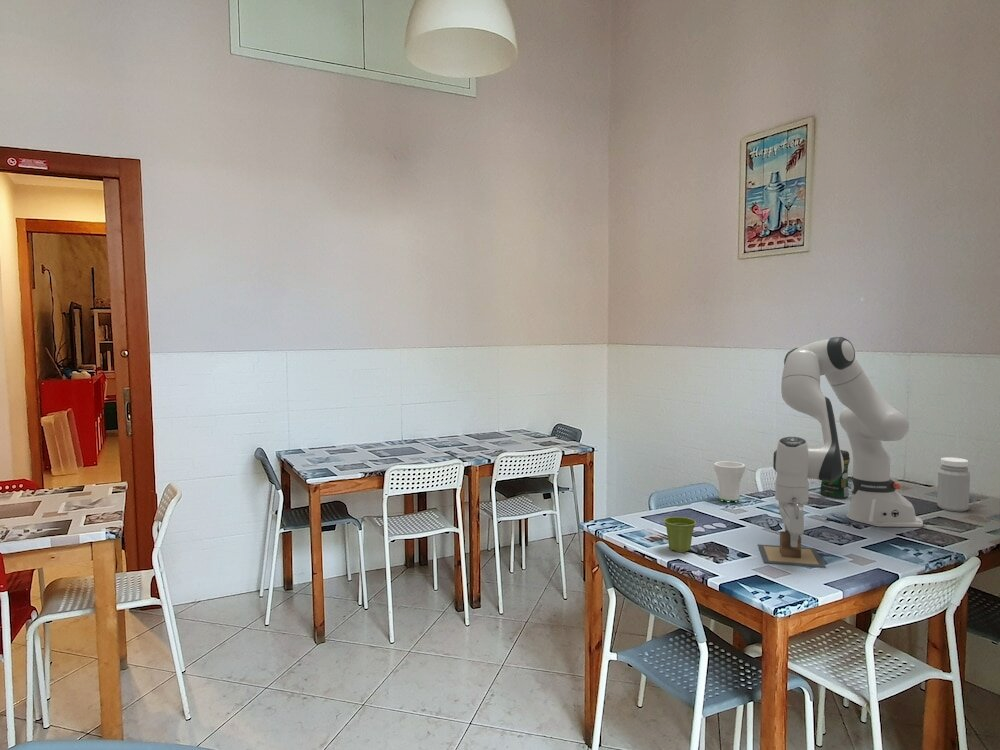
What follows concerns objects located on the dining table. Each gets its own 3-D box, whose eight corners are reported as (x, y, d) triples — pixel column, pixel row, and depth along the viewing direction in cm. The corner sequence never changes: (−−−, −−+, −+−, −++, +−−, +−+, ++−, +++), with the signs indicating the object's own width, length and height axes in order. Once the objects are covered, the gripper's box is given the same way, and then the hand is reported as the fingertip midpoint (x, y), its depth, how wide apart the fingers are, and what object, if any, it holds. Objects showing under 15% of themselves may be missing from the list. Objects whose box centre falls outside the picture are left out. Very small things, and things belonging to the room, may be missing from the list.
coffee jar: (816, 495, 263) (817, 448, 262) (829, 492, 267) (830, 446, 266) (840, 500, 255) (841, 452, 253) (852, 497, 259) (853, 450, 257)
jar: (973, 513, 235) (974, 462, 234) (940, 511, 239) (942, 461, 237) (964, 506, 244) (966, 457, 243) (933, 504, 248) (935, 456, 246)
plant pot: (660, 544, 206) (660, 516, 205) (691, 544, 206) (691, 516, 205) (667, 554, 197) (667, 525, 196) (699, 554, 196) (699, 525, 196)
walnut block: (797, 552, 196) (798, 532, 195) (800, 558, 191) (801, 537, 190) (779, 551, 197) (779, 531, 197) (782, 557, 192) (782, 536, 192)
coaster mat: (814, 549, 199) (814, 548, 199) (825, 567, 184) (825, 566, 184) (757, 545, 204) (757, 544, 204) (763, 563, 188) (763, 562, 188)
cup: (749, 504, 251) (750, 466, 250) (720, 505, 250) (721, 467, 249) (736, 496, 262) (737, 460, 261) (709, 497, 261) (709, 461, 260)
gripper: (810, 504, 182) (809, 553, 183) (797, 486, 201) (797, 531, 202) (785, 502, 183) (784, 552, 184) (775, 485, 203) (774, 530, 204)
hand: (791, 541), depth 194 cm, fingers open, 8 cm apart
